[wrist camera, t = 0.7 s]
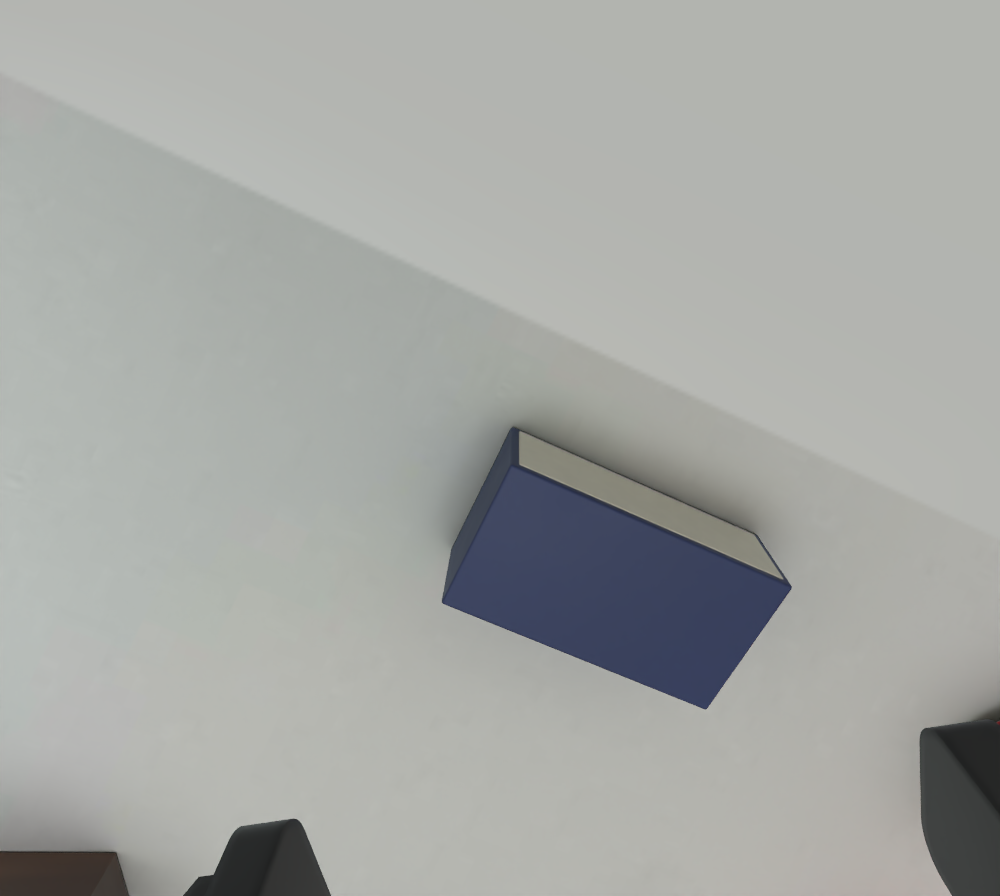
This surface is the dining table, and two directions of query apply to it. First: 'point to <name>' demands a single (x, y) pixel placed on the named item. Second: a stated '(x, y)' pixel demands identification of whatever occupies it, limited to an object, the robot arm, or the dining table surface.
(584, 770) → the dining table surface
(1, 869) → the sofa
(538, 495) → the book
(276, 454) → the dining table surface
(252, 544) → the dining table surface
